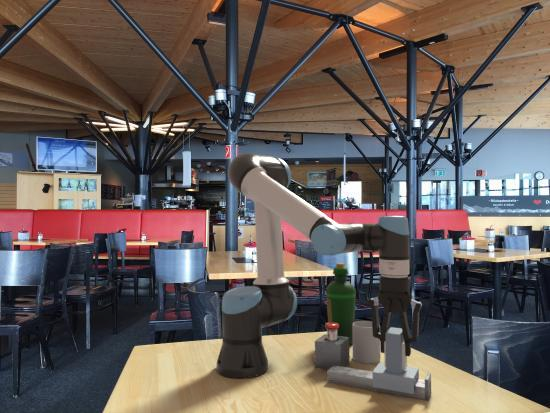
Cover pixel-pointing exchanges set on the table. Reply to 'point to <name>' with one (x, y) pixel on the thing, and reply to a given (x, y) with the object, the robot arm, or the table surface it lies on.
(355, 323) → the mug
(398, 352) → the carriage
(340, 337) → the grey cube box
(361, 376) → the rail
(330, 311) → the bottle
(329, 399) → the table surface
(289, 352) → the table surface
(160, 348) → the table surface
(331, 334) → the plunger
